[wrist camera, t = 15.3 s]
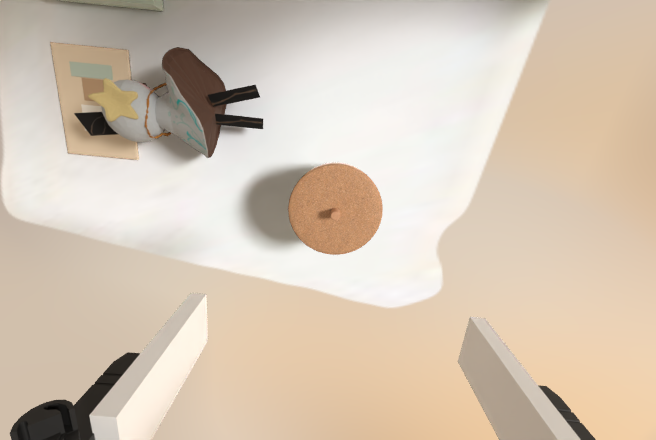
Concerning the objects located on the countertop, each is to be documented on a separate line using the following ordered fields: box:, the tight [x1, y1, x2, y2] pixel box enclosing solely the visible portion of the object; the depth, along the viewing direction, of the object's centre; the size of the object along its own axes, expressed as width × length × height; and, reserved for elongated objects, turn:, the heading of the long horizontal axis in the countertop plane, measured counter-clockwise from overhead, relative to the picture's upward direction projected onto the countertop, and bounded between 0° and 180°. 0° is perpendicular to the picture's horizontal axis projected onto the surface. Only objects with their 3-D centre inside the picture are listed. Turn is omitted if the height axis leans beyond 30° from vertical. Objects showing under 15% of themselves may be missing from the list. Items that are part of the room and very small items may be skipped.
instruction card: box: [50, 42, 139, 160], centre depth 39 cm, size 9×13×1 cm
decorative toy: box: [74, 47, 263, 158], centre depth 34 cm, size 12×10×20 cm
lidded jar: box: [288, 162, 382, 254], centre depth 38 cm, size 11×11×9 cm
